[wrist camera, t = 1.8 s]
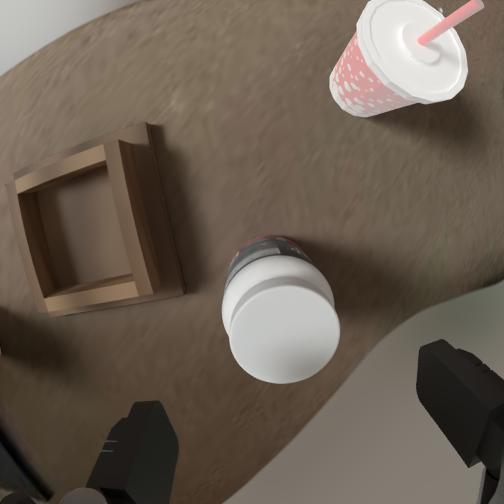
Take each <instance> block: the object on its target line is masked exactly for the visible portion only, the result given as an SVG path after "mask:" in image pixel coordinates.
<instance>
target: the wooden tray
mask: <svg viewBox="0 0 504 504" xmlns="http://www.w3.org/2000/svg"><path fill="white" fill-rule="evenodd" d="M13 176H14V181H12V182H10V183H8V184H6V188H7V194H8V200H9V206H10V211H11V216H12V221H13V225H14V230H15V234H16V238H17V243H18V247H19V250H20V254H21V258H22V262H23V265H24V269H25V272H26V275H27V279H28V282H29V285H30V288H31V291H32V294H33V297H34V300H35V303H36V306H37V309H38V312H39V313H44V312H48V314H49V316H50V317H54V316H61V315H68V314H74V313H81V312H87V311H93V310H99V309H106V308H112V307H118V306H124V305H130V304H135V303H141V302H147V301H153V300H159V299H164V298H170V297H175V296H181V295H184V294H185V292H186V287H185V283H184V280H183V276H182V272H181V268H180V264H179V260H178V256H177V252H176V248H175V244H174V240H173V236H172V231H171V227H170V223H169V218H168V214H167V210H166V205H165V201H164V196H163V191H162V187H161V182H160V177H159V172H158V167H157V162H156V157H155V152H154V146H153V141H152V135H151V130H150V124H148V123H146V122H143V123H140V124H137V125H133V126H130V127H127V128H124V129H121V130H118V131H115V132H112V133H109V134H106V135H103V136H101V137H98V138H95V139H92V140H90V141H87V142H84V143H82V144H79V145H76V146H74V147H71V148H69V149H66V150H64V151H61V152H59V153H57V154H54V155H52V156H49V157H47V158H45V159H43V160H40V161H38V162H36V163H34V164H31V165H29V166H27V167H25V168H23V169H21V170H19V171H17V172H15V173H13Z"/></svg>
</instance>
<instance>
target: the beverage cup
mask: <svg viewBox="0 0 504 504" xmlns="http://www.w3.org/2000/svg"><path fill="white" fill-rule="evenodd" d="M483 8H484V4H483V2H482V1H481V0H471V1H470V2H468V3H467V4H465V5H464V6H462V7H461V8H459V9H458V10H457V11H455V12H454V13H452V14H451V15H449V16H448V17H447V18H444V16H443V15H442V14H441V13H439V12H438V11H437V10H435V9H434V8H433V7H431V6H430V5H428V4H427V3H425V2H424V1H423V0H371V1H369V2H368V4H367V5H366V7H365V9H364V10H363V12H362V14H361V16H360V18H359V20H358V22H357V31H356V33H355V34H354V36H353V38H352V39H351V41H350V43H349V44H348V46H347V47H346V49H345V51H344V52H343V54H342V56H341V57H340V59H339V61H338V62H337V64H336V66H335V67H334V69H333V71H332V73H331V75H330V90H331V93H332V95H333V98H334V100H335V101H336V102H337V103H338V104H339V106H340V107H341V108H342V109H343V110H345V111H347V112H348V113H350V114H352V115H354V116H360V117H369V116H373V115H377V114H380V113H384V112H387V111H390V110H394V109H397V108H401V107H404V106H408V105H411V104H415V103H423V104H430V103H435V102H440V101H444V100H449V99H452V98H453V97H454V96H455V95H456V94H457V93H458V92H459V91H460V90H461V89H462V88H463V87H464V83H465V80H466V76H467V72H468V68H467V60H466V53H465V50H464V47H463V45H462V43H461V41H460V39H459V37H458V34H457V32H456V31H455V30H454V28H453V27H454V26H455V25H457V24H458V23H460V22H462V21H463V20H465V19H466V18H468V17H470V16H471V15H473V14H474V13H476V12H478V11H479V10H481V9H483Z"/></svg>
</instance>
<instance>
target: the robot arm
mask: <svg viewBox="0 0 504 504" xmlns="http://www.w3.org/2000/svg"><path fill="white" fill-rule="evenodd" d="M416 390H417V395H418V398H419V400H420V402H421V403H422V405H423V406H424V407H425V409H426V410H427V412H428V413H429V414H430V416H431V417H432V418H433V420H434V421H435V422H436V424H437V425H438V426H439V428H440V429H441V431H442V432H443V433H444V434H445V436H446V437H447V439H448V440H449V441H450V443H451V444H452V446H453V447H454V448H455V450H456V451H457V452H458V454H459V455H460V456H461V458H462V459H463V461H464V462H465V464H466V465H467V467H468V468H470V467H472V466H474V465H475V464H477V463H479V462H481V461H482V463H483V464H484V465H485V467H484V469H483V471H482V477H481V482H480V488H479V494H478V498H477V503H476V504H504V380H503V379H502V378H501V377H500V376H498V375H497V374H496V373H495V372H494V371H493V370H490V368H489V367H488V366H487V365H486V364H483V363H482V361H481V360H480V359H478V358H477V357H476V356H475V355H474V354H472V353H469V352H467V351H464V350H462V349H455V348H453V347H452V346H451V345H450V344H449V343H448V342H447V341H445V340H443V339H440V340H438V341H435V342H432V343H429V344H427V345H424V346H422V347H421V348H420V350H419V358H418V371H417V382H416ZM106 441H107V442H106V443H105V444H104V446H103V448H102V452H101V453H100V455H99V457H98V459H97V462H96V464H95V466H94V468H93V471H92V473H91V475H90V477H89V480H88V482H87V484H86V487H85V488H79V489H76V490H73V491H71V492H69V493H68V494H67V495H65V496H64V498H63V499H62V500H61V502H60V504H169V501H170V495H171V490H172V485H173V479H174V474H175V469H176V464H177V459H178V454H179V445H178V439H177V436H176V434H175V431H174V429H173V427H172V425H171V423H170V421H169V419H168V416H167V414H166V412H165V410H164V407H163V405H162V404H161V402H160V401H158V400H157V401H142V402H135V403H134V404H133V406H132V408H131V410H130V413H129V415H128V417H127V418H122V419H121V420H120V421H119V422H118V423H117V424H116V425H115V426H114V427H113V428H112V429H111V431H110V433H109V435H108V437H107V440H106ZM0 504H36V503H35V502H34V501H33V500H32V499H31V498H30V497H29V496H28V495H26V494H24V493H12V494H9V495H7V496H6V497H4V498H3V499H2V500H1V501H0Z"/></svg>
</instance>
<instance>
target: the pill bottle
mask: <svg viewBox="0 0 504 504" xmlns="http://www.w3.org/2000/svg"><path fill="white" fill-rule="evenodd" d="M222 318H223V323H224V327H225V329H226V332H227V334H228V336H229V339H230V347H231V350H232V353H233V355H234V357H235V359H236V361H237V362H238V363H239V365H240V366H241V367H242V368H243V369H244V370H245V371H246V372H248V373H249V374H250V375H252V376H254V377H256V378H258V379H260V380H263V381H266V382H271V383H280V384H282V383H293V382H297V381H301V380H304V379H306V378H308V377H310V376H312V375H314V374H315V373H317V372H318V371H320V370H321V369H322V368H323V367H324V366H325V365H326V364H327V363H328V362H329V361H330V359H331V358H332V357H333V355H334V353H335V351H336V349H337V346H338V343H339V339H340V323H339V319H338V316H337V313H336V311H335V309H334V298H333V294H332V291H331V288H330V285H329V283H328V282H327V280H326V278H325V277H324V275H323V274H322V273H321V272H320V270H319V269H318V268H317V267H316V266H315V265H314V263H313V262H312V261H311V260H310V258H309V257H308V256H307V255H306V254H305V252H304V251H303V250H302V249H301V248H300V247H299V246H298V245H297V244H295V243H294V242H292V241H290V240H288V239H286V238H283V237H280V236H271V235H269V236H261V237H257V238H255V239H252V240H250V241H248V242H247V243H245V244H244V245H243V246H242V247H241V248H240V249H239V250H238V251H237V252H236V254H235V255H234V257H233V259H232V261H231V263H230V266H229V270H228V275H227V281H226V286H225V291H224V296H223V302H222Z"/></svg>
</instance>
